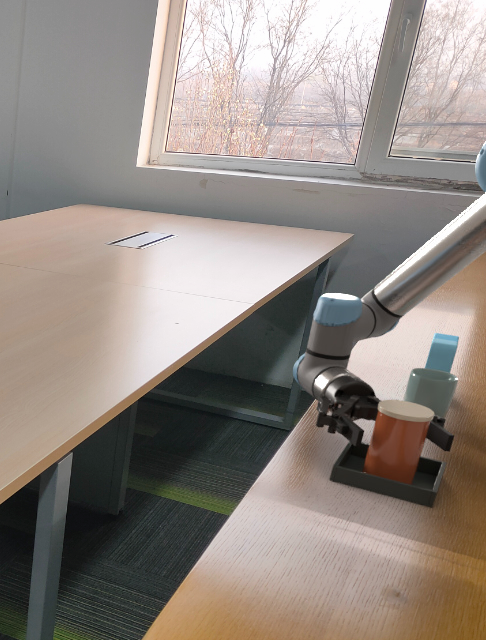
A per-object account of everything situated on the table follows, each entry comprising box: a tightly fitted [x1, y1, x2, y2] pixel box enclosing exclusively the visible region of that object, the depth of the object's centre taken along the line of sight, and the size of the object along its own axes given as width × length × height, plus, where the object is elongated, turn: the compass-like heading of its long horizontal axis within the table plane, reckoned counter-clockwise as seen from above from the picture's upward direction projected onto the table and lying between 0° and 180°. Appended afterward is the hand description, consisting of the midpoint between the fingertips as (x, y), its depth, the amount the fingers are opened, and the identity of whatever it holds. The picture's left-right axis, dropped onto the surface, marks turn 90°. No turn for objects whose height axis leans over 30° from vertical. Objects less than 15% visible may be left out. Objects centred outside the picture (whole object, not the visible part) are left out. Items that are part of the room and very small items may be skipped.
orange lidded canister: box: [362, 399, 434, 485], centre depth 126 cm, size 8×8×12 cm
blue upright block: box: [424, 332, 460, 373], centre depth 169 cm, size 12×4×12 cm, turn 146°
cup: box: [402, 367, 459, 419], centre depth 152 cm, size 8×8×10 cm
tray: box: [329, 441, 448, 508], centre depth 128 cm, size 14×14×3 cm
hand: (404, 441), depth 124 cm, fingers open, 13 cm apart
